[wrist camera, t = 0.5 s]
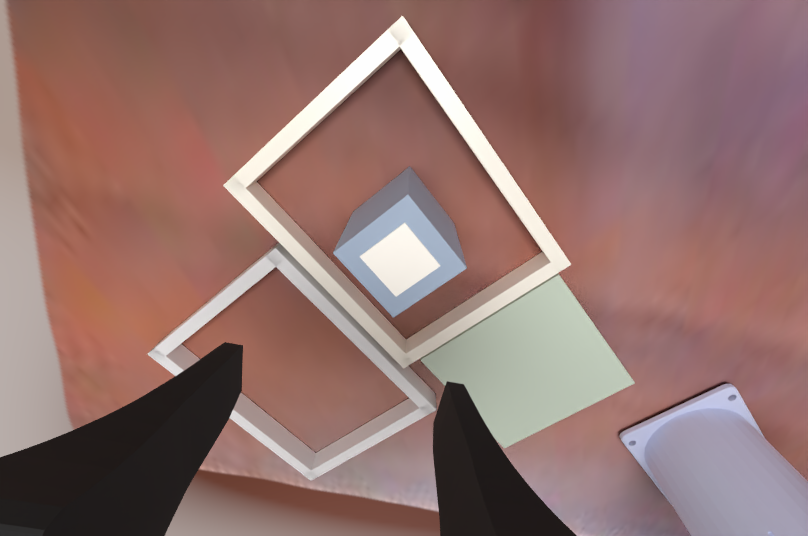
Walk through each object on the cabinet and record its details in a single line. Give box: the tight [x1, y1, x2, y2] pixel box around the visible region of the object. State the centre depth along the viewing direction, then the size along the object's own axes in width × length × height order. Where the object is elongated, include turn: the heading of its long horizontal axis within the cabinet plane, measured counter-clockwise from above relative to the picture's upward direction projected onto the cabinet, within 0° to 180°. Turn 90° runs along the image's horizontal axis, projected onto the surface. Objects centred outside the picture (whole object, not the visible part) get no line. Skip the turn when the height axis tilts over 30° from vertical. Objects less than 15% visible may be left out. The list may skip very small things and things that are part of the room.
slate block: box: [333, 166, 467, 318], centre depth 19 cm, size 4×4×6 cm
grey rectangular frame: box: [148, 243, 437, 481], centre depth 26 cm, size 15×12×2 cm
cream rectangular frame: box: [223, 16, 571, 369], centre depth 21 cm, size 15×12×2 cm
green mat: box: [420, 273, 635, 448], centre depth 26 cm, size 10×10×1 cm
